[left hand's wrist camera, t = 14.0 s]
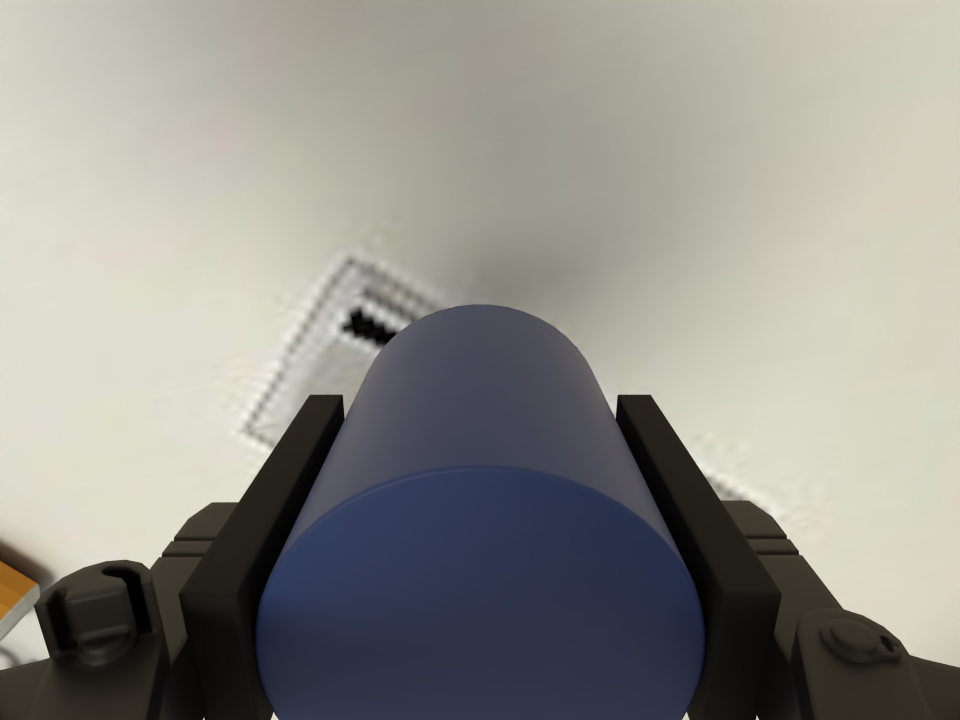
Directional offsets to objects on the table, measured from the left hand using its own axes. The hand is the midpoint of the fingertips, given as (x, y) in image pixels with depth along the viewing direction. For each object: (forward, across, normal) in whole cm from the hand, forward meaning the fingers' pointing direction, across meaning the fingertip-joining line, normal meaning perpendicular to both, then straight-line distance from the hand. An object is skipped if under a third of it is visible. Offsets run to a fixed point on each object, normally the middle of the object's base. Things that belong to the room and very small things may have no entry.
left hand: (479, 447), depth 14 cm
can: (+2, 0, 0) cm, 2 cm away
